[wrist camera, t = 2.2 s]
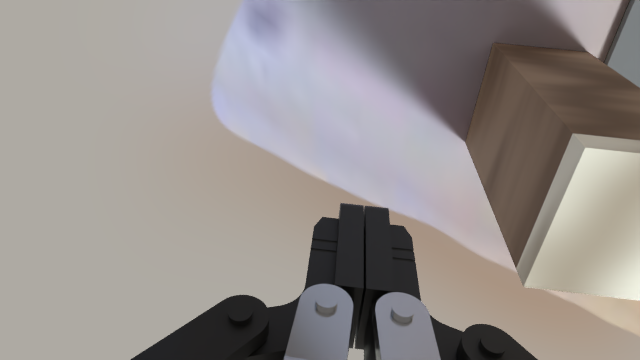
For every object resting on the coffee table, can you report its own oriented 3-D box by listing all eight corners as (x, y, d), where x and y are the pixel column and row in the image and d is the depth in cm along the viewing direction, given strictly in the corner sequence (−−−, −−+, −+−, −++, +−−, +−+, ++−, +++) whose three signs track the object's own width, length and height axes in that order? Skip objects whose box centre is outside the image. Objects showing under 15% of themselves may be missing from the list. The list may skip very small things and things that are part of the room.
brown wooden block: (588, 52, 24) (752, 165, 14) (548, 151, 27) (658, 302, 17) (493, 42, 24) (585, 147, 14) (465, 142, 27) (523, 286, 17)
